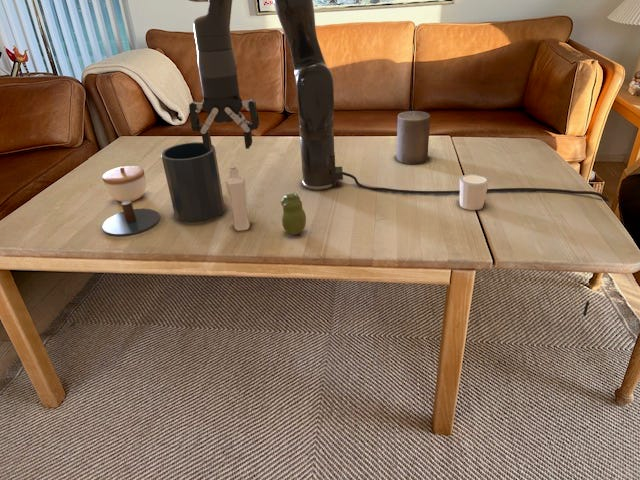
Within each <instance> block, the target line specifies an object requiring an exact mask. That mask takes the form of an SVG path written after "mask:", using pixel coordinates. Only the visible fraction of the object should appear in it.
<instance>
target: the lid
mask: <svg viewBox="0 0 640 480" xmlns="http://www.w3.org/2000/svg"><path fill="white" fill-rule="evenodd" d="M120 203H121V208H122V211H121V212H117V213H116V214H113V215H112V216H110V217H108V218H107V219H106V220H104V222H103V223H102V226H101V227H102V230H103V232H104V233H105V234H106V235H108V236H112V237H130V236H135V235H138V234H142V233H144V232H147V231H149V230H151V229H152V228H154V227H155V226H157V225H158V223H159V222H160V220H161V216H160V214H159V212H158V211H157V210H154V209H151V208H135V209H134V206H133V201H124V202H120Z"/></svg>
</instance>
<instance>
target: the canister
mask: <svg viewBox="0 0 640 480" xmlns="http://www.w3.org/2000/svg"><path fill="white" fill-rule="evenodd" d="M160 156H161V160H162V165H163V170H164V174H165V178H166V183H167V187H168V193H169V195H170V196H169V197H170V200H171V204H172V209H173V213H174V217H175V219H177V220H178V221H180V222H183V223H190V224H191V223H202V222H206V221H210V220H213V219H216V218H217V217H222V216H223V215H224V214H225V211H226V210H225V209H226V208H225V207H226V206H225V199H224V194H223V188H222V184H221V177H220V171H219V165H218V157H217V152H216V148H215V146H214V144H212V148H211V150H207V148H205V147H204V145H203V141H192V142H184V143H179V144H174V145H172V146H169V147H167V148H165V149H164V150H162V152H161V153H160Z"/></svg>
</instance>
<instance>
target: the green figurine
mask: <svg viewBox="0 0 640 480" xmlns="http://www.w3.org/2000/svg"><path fill="white" fill-rule="evenodd" d="M280 204H281V206H282V216H281V226H282V227H283V230H284V231H285V232H286V233H288V234H289V235H299V234H300V233H302V232H303V231H304V230H305V228H306V225H307V216H306V212H305V210H304V208H303V202H302V200H301V198H300V196H299V194H298V193H297V192H293V193H288V194H284V195H282V198H281V201H280Z"/></svg>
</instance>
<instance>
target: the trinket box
mask: <svg viewBox="0 0 640 480" xmlns="http://www.w3.org/2000/svg"><path fill="white" fill-rule="evenodd" d="M101 177H102V182H103V183H104V186H105V190H107V193H108V194H109V196H110V197H111V198H113V199H114V200H115V201H118V202H120V203H122V202H124V201H131V202H134V201H137V200H139V199H141V198H142V196H143V195H144V194H145V192H146V189H147V180H146V176H145V169H144V168H143V167H141V166H139V165H138V166H137V165H126V166H124V165H123V166H119V167H115V168H111V169H110V170H108V171H106V172H105V173H103V175H102V176H101Z"/></svg>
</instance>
